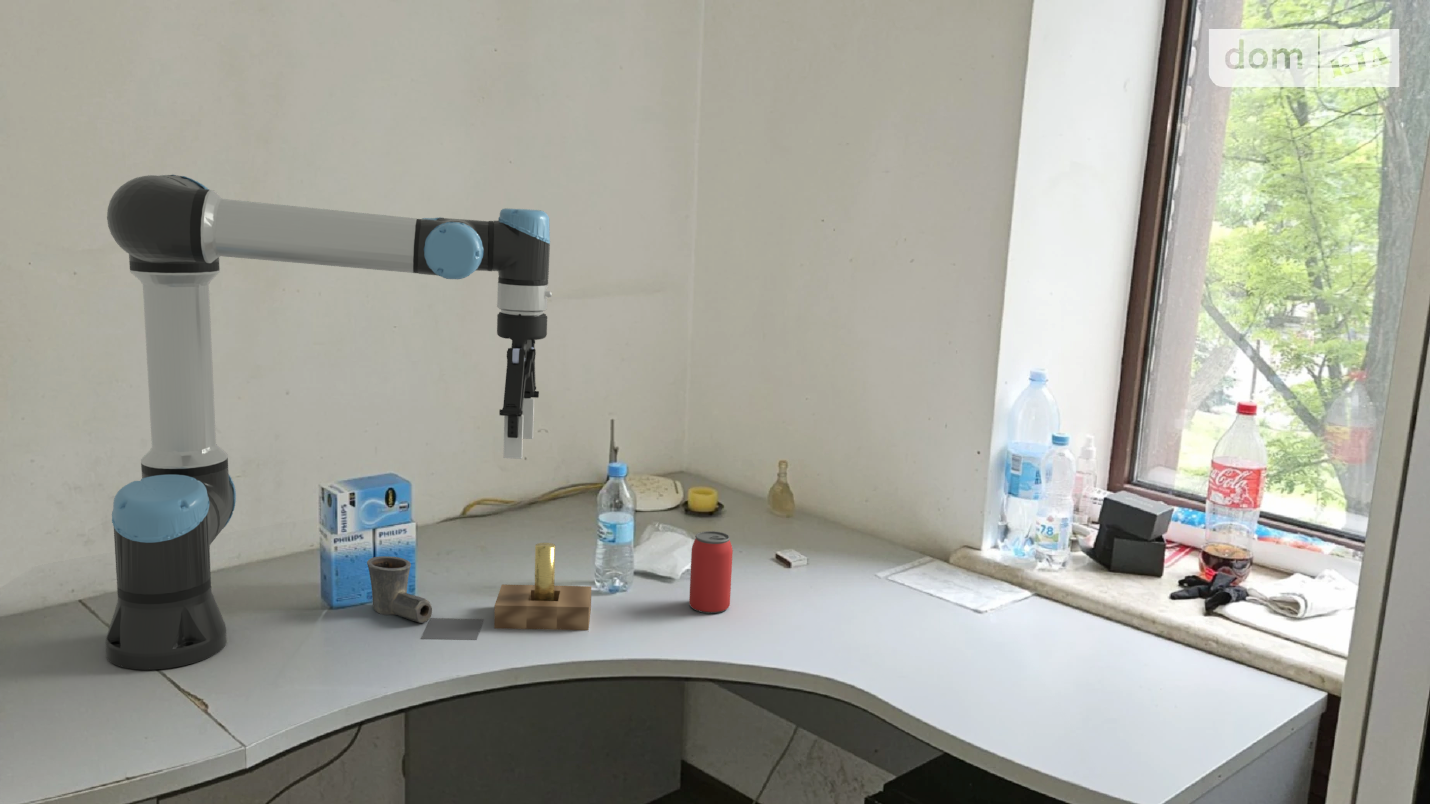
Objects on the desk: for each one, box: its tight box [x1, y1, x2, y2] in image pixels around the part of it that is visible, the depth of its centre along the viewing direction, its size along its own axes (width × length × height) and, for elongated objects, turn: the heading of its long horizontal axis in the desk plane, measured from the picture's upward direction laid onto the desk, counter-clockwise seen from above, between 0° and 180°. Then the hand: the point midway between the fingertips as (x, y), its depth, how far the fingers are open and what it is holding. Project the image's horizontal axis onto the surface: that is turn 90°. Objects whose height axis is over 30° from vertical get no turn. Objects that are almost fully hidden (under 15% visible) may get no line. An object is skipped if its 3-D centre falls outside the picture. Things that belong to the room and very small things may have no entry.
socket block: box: [493, 584, 592, 631], centre depth 173 cm, size 14×9×4 cm, turn 94°
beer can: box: [688, 530, 734, 614], centre depth 181 cm, size 7×7×12 cm
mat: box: [420, 617, 485, 641], centre depth 168 cm, size 8×8×1 cm
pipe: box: [366, 555, 433, 624], centre depth 172 cm, size 6×13×8 cm, turn 53°
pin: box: [534, 542, 556, 601], centre depth 173 cm, size 3×3×12 cm
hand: (518, 447), depth 175 cm, fingers open, 13 cm apart
